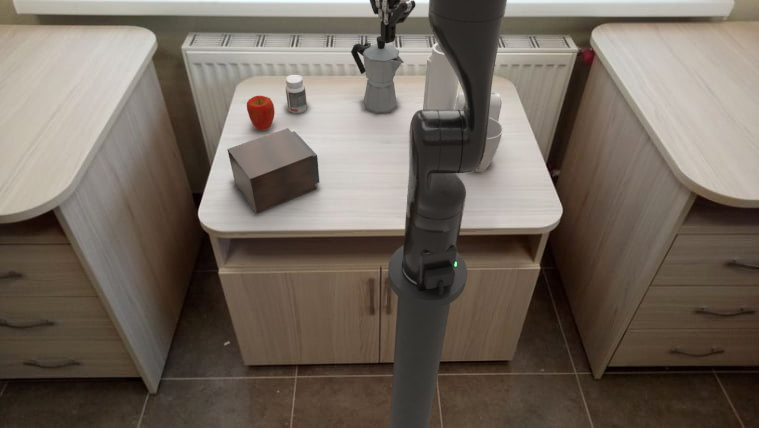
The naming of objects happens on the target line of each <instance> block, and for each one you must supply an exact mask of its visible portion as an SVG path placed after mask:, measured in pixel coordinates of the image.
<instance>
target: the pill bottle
mask: <svg viewBox="0 0 759 428" xmlns="http://www.w3.org/2000/svg"><path fill="white" fill-rule="evenodd" d="M285 84H286V85H285V95H286V104H287V109H288V111H289V112H291V113H292V114H300V113H304V112H305V111H306V110H307V109H308V103H307V94H306V85H305V83H304V81H303V77H302V75H299V74H290V75H287V77H285Z"/></svg>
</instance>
